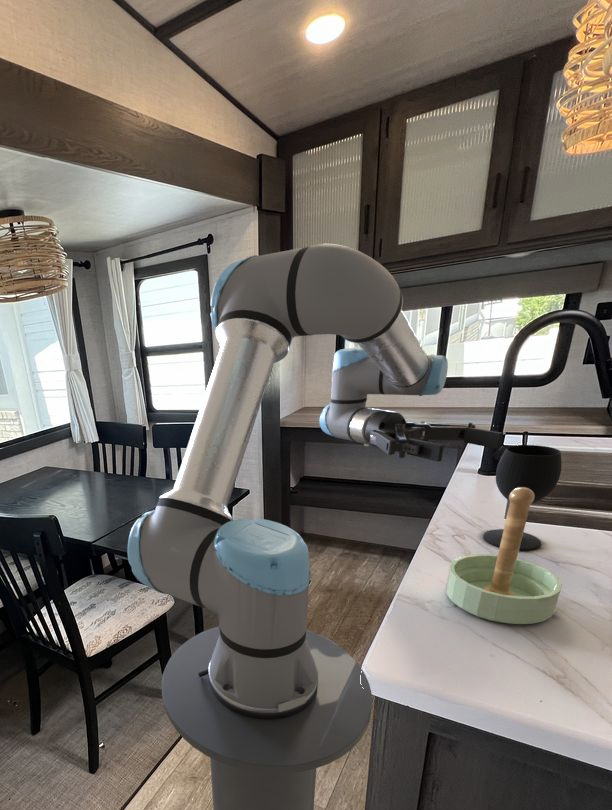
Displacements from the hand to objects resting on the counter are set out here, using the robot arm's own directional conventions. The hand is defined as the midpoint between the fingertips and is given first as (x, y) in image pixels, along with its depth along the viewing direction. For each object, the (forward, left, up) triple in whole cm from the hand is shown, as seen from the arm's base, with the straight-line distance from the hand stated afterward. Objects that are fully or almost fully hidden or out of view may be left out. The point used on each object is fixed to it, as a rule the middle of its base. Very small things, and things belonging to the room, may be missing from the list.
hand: (471, 447), depth 79 cm
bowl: (+5, -9, -26) cm, 27 cm away
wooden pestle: (+5, -9, -25) cm, 27 cm away
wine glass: (+19, +16, -26) cm, 36 cm away
